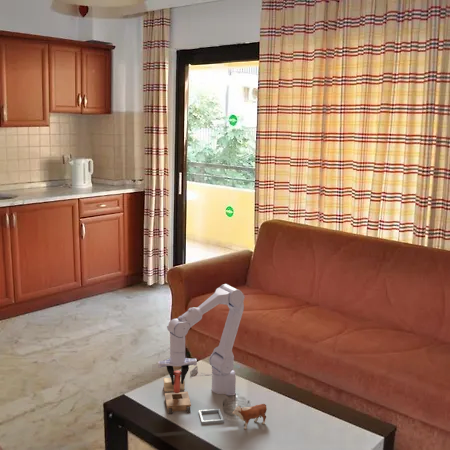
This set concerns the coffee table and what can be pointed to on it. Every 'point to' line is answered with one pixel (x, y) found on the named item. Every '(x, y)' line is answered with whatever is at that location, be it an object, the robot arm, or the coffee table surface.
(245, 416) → the bull figurine
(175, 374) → the pin
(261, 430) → the coffee table surface
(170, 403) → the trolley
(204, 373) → the bracket
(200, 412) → the grey square frame
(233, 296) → the robot arm
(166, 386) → the block
